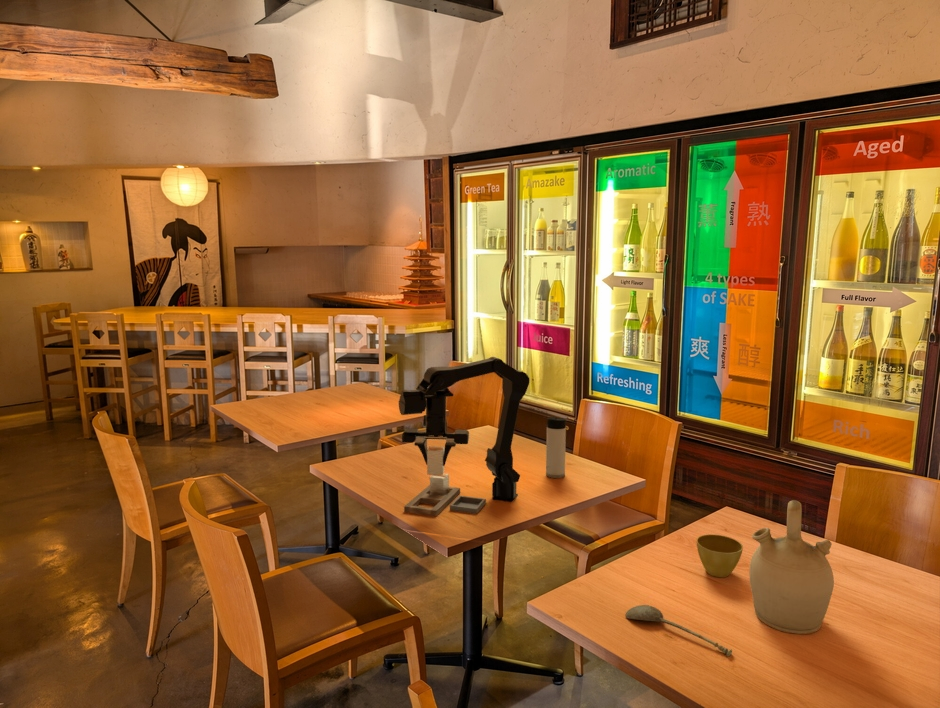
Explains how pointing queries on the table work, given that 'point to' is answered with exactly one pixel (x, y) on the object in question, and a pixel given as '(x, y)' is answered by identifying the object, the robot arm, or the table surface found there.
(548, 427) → the travel mug
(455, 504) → the grey tray
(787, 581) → the jug
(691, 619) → the table surface
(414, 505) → the grey flat frame
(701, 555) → the flower pot
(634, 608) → the soupspoon
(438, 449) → the block
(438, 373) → the robot arm
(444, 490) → the block
